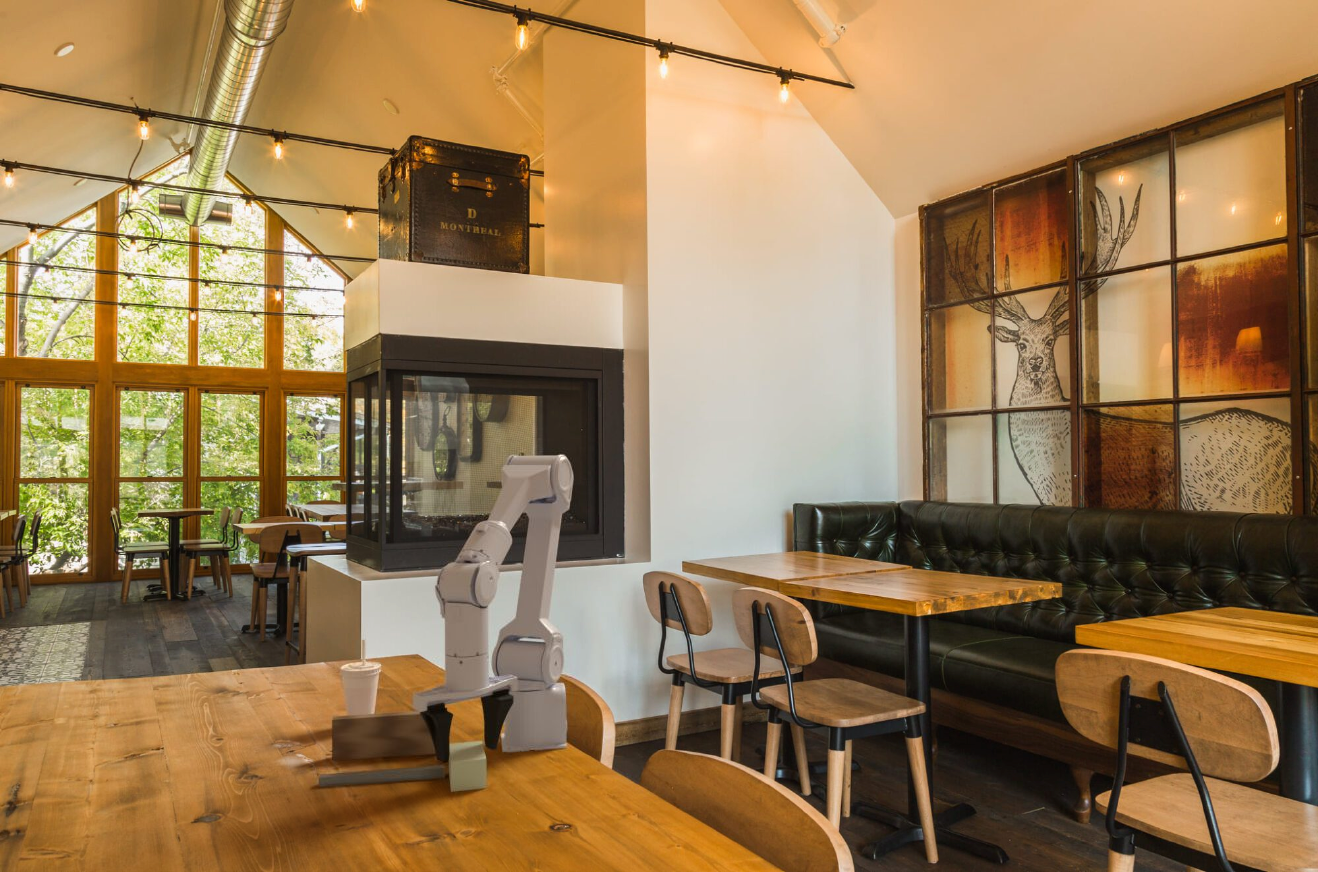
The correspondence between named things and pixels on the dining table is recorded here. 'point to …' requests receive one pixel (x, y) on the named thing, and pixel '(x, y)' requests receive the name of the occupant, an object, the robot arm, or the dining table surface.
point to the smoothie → (360, 685)
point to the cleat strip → (382, 776)
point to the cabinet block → (467, 766)
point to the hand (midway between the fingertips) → (467, 754)
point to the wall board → (380, 735)
